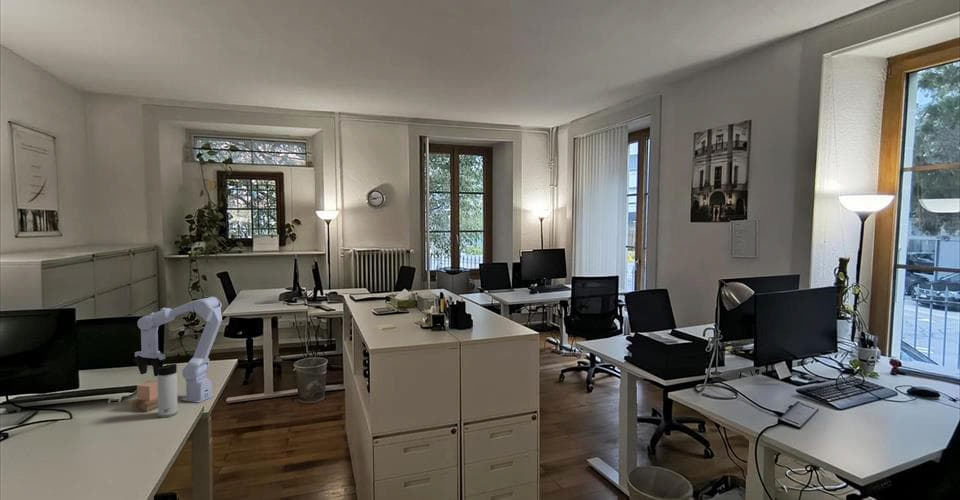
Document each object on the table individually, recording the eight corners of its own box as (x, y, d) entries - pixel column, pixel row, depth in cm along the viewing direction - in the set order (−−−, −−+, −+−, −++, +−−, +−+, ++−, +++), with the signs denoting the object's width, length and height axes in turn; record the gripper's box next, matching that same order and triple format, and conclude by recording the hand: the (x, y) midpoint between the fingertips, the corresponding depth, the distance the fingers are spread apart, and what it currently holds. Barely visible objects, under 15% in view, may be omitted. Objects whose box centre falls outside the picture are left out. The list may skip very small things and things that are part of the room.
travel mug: (168, 418, 173) (167, 367, 172) (154, 417, 174) (153, 366, 173) (182, 412, 179) (181, 363, 178) (168, 410, 181) (167, 361, 179)
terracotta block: (160, 395, 186) (160, 381, 186) (149, 401, 181) (149, 386, 180) (148, 395, 187) (148, 381, 186) (137, 400, 181) (136, 385, 181)
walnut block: (166, 405, 186) (166, 395, 186) (147, 412, 179) (146, 403, 178) (151, 402, 189) (151, 393, 188) (132, 410, 181) (132, 400, 181)
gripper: (171, 342, 193) (172, 373, 194) (145, 339, 197) (146, 369, 198) (155, 346, 186) (156, 378, 187) (129, 343, 190) (130, 375, 191)
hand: (150, 374), depth 192 cm, fingers open, 7 cm apart
